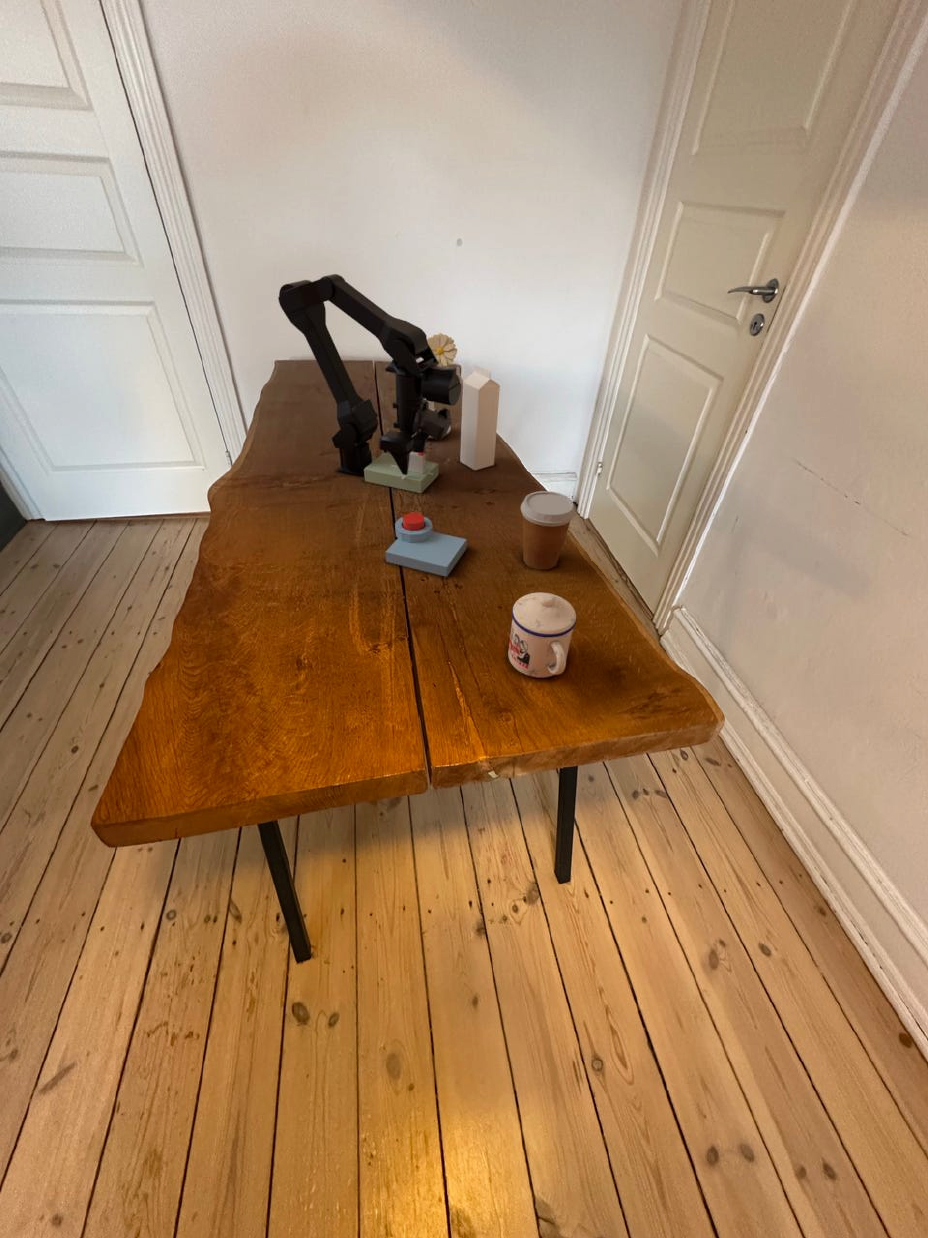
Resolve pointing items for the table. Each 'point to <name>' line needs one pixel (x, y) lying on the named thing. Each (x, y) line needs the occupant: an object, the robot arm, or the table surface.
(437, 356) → the flower in vase
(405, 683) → the table surface
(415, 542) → the button block
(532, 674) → the teacup with lid
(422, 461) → the tap handle
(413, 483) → the panel
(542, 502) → the disposable coffee cup
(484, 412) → the milk
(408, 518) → the button
